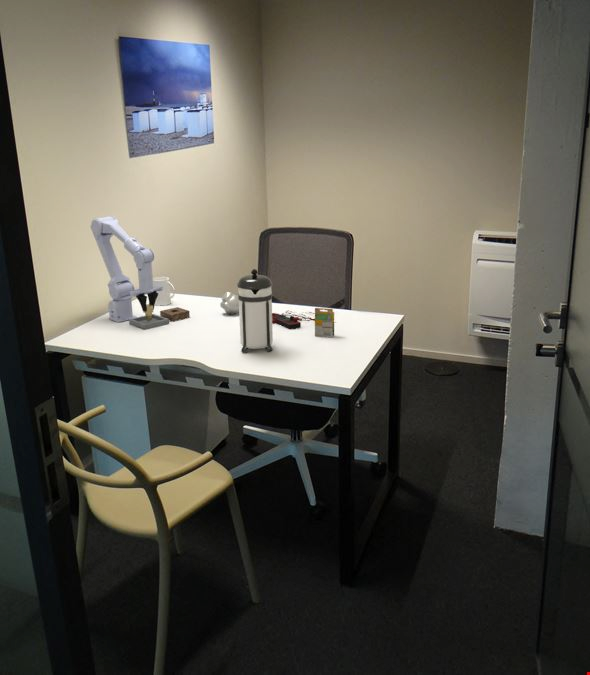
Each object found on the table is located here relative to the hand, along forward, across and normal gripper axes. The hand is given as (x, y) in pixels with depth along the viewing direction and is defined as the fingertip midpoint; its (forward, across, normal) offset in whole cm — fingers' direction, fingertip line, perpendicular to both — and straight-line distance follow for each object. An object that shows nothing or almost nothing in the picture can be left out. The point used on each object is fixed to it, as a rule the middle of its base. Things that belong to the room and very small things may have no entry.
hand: (148, 310), depth 283 cm
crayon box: (+6, +39, -65) cm, 76 cm away
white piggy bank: (+6, +34, -13) cm, 37 cm away
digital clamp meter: (+7, +47, -42) cm, 63 cm away
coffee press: (+6, +11, -56) cm, 57 cm away
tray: (+6, 0, 0) cm, 6 cm away
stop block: (+6, +13, 0) cm, 14 cm away
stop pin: (+4, 0, 0) cm, 4 cm away
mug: (+6, +23, +23) cm, 33 cm away
